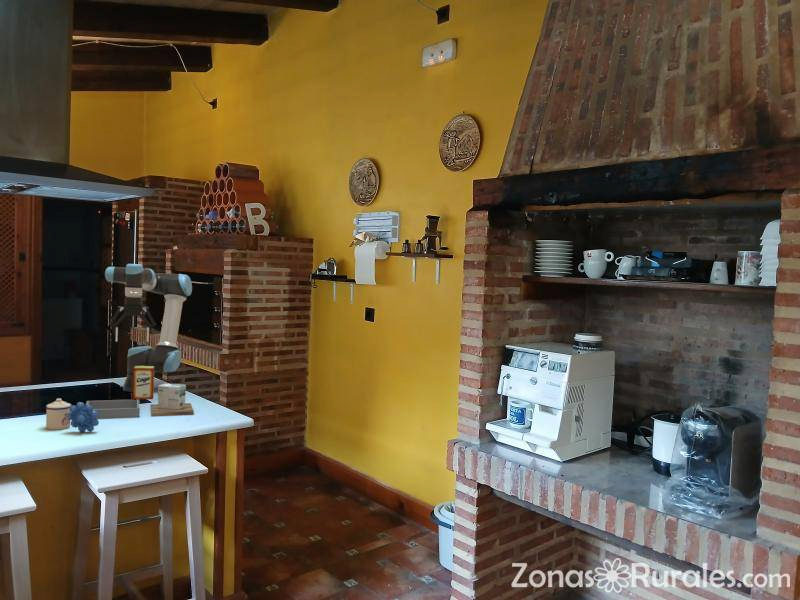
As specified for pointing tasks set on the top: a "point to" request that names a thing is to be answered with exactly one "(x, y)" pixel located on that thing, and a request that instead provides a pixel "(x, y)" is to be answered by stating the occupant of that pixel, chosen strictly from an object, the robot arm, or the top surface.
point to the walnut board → (171, 410)
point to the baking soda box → (143, 382)
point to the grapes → (83, 417)
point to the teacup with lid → (57, 415)
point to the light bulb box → (171, 396)
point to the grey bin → (115, 408)
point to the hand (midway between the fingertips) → (132, 341)
